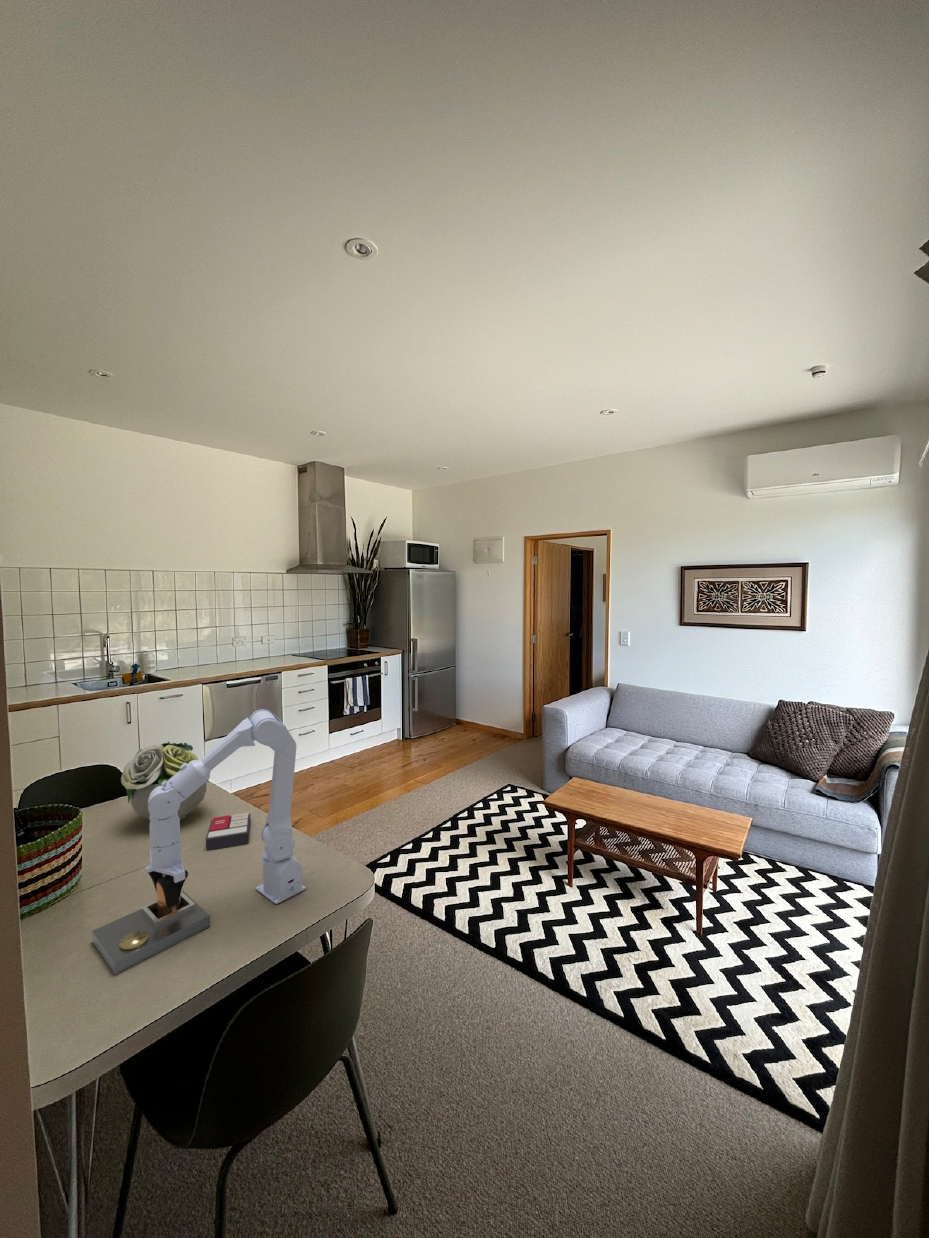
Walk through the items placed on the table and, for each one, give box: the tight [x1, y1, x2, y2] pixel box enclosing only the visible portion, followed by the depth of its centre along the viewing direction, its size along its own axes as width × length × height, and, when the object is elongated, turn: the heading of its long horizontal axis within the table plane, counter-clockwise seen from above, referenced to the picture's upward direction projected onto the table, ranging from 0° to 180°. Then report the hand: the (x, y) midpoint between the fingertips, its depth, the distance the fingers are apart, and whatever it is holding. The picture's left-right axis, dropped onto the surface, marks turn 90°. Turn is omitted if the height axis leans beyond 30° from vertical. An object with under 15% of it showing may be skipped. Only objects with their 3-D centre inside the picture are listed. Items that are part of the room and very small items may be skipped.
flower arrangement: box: [120, 741, 209, 821], centre depth 161 cm, size 25×25×24 cm
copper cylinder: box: [156, 873, 181, 919], centre depth 113 cm, size 4×4×10 cm
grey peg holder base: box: [91, 890, 211, 976], centre depth 109 cm, size 14×18×4 cm
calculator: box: [205, 812, 252, 852], centre depth 152 cm, size 11×4×15 cm
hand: (168, 900), depth 113 cm, fingers closed on copper cylinder, 4 cm apart
